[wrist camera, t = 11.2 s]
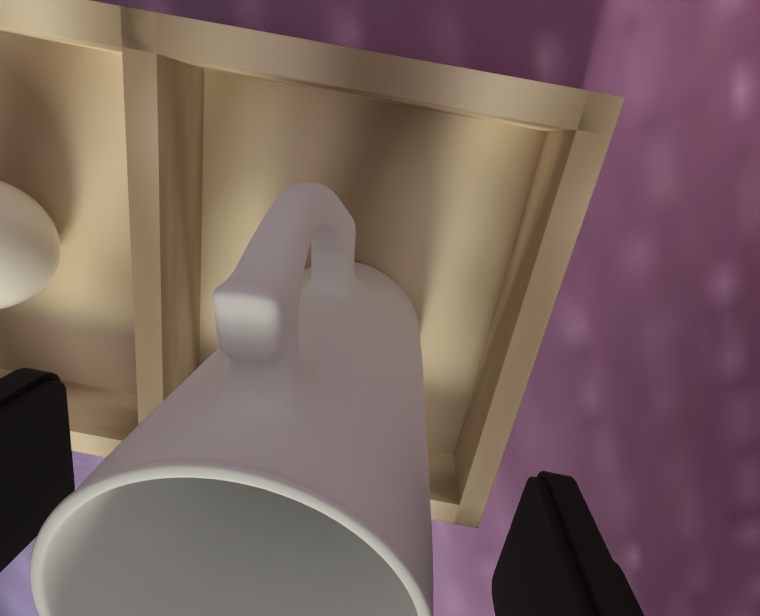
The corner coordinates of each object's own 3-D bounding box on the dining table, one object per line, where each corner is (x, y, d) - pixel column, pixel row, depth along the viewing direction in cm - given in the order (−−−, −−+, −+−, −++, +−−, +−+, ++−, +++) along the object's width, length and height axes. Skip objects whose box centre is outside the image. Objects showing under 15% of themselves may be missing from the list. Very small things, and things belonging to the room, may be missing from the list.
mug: (416, 409, 19) (410, 776, 8) (267, 391, 20) (68, 722, 9) (447, 173, 16) (515, 258, 5) (264, 156, 16) (-93, 196, 5)
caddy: (577, 106, 15) (625, 97, 12) (467, 463, 21) (478, 528, 18) (-170, -29, 16) (-340, -78, 12) (-73, 361, 22) (-169, 404, 18)
